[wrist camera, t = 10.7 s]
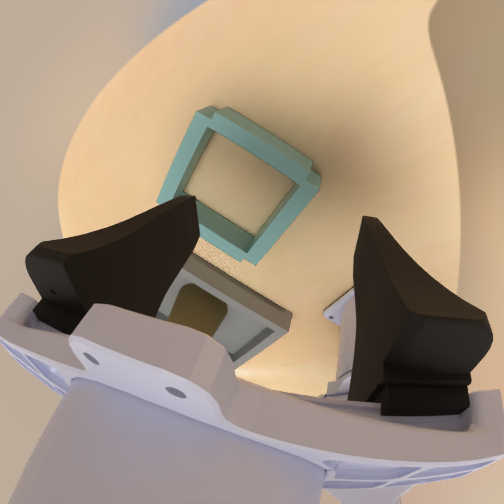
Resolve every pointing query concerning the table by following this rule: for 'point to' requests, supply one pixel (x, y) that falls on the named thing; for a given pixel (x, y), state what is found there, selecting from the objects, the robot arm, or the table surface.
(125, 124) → the table surface
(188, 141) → the teal collar
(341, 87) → the table surface
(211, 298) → the cork
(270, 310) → the charcoal tray
